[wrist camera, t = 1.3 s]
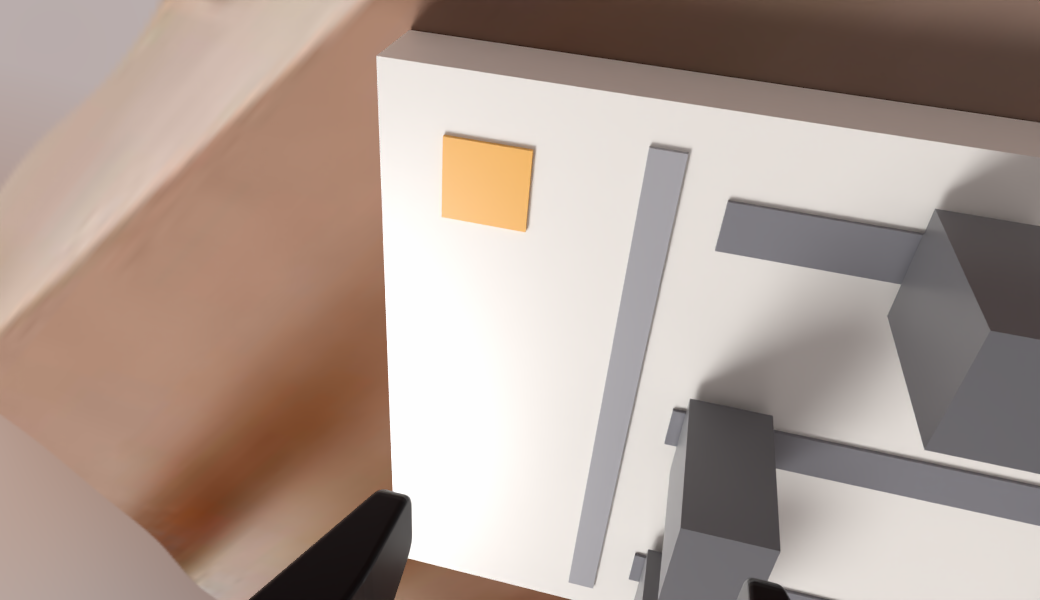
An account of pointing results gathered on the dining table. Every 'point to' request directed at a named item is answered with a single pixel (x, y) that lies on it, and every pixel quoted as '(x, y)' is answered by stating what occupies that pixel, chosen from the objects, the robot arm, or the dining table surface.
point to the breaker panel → (676, 317)
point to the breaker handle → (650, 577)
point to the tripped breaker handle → (973, 339)
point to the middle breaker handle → (720, 504)
